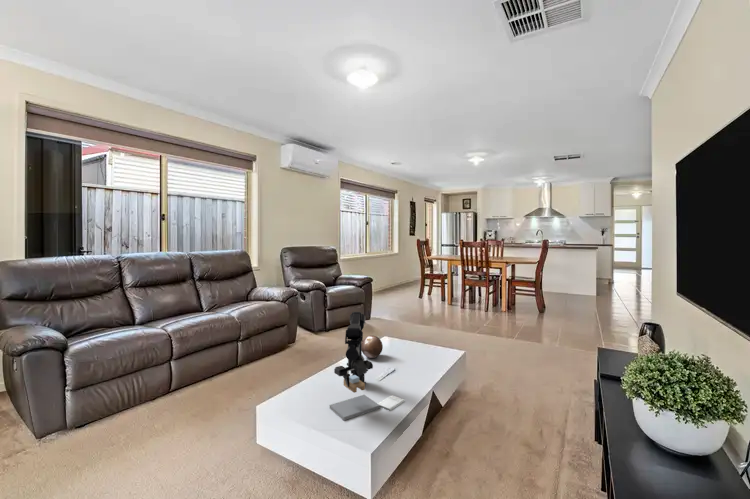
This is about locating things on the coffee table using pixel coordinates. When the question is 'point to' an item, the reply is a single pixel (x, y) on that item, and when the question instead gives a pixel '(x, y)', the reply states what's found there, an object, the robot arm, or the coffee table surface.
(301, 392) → the coffee table surface
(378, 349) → the wooden sphere
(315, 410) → the coffee table surface
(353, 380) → the pale blue square block
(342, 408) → the slate dock
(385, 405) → the external hard drive
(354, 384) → the board
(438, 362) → the coffee table surface
